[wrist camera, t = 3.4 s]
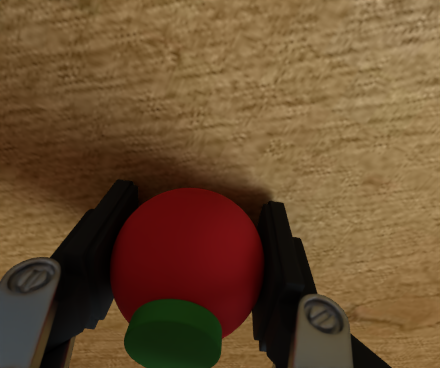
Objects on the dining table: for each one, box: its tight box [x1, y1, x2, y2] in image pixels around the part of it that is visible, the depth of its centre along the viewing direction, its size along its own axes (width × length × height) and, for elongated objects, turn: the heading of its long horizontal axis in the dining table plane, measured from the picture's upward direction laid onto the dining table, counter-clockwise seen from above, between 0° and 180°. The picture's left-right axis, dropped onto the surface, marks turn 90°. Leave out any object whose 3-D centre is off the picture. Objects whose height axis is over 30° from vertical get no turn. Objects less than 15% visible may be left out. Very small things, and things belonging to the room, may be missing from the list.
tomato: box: [110, 188, 265, 368], centre depth 9 cm, size 5×5×5 cm
